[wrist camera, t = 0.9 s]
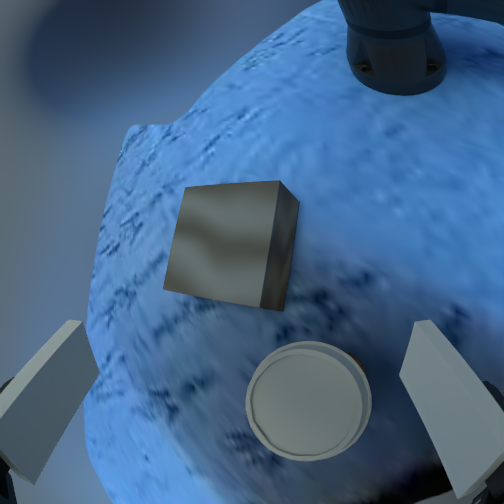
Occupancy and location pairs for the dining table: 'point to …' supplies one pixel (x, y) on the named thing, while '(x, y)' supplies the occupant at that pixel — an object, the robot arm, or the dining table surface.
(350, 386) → the disposable coffee cup
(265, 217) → the block
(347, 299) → the dining table surface
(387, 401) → the dining table surface
